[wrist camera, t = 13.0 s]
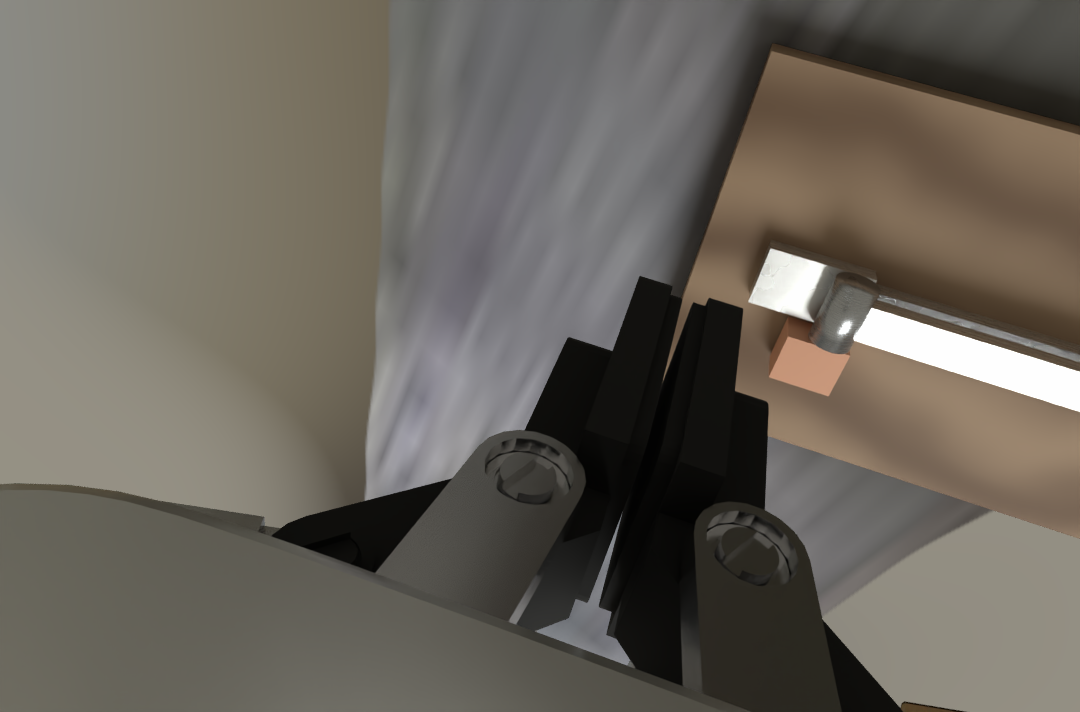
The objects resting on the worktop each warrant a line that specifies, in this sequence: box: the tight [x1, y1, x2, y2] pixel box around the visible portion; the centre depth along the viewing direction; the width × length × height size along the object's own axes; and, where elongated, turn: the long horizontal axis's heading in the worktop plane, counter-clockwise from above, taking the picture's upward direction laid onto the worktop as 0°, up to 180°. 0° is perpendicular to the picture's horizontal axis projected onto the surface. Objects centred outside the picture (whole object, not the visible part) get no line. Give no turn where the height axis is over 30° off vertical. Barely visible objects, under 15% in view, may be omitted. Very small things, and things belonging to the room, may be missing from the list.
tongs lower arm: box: [748, 240, 1080, 362], centre depth 35 cm, size 23×4×1 cm, turn 78°
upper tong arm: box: [808, 272, 1080, 411], centre depth 34 cm, size 20×4×2 cm, turn 78°
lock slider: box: [769, 316, 850, 396], centre depth 38 cm, size 3×2×2 cm
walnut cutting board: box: [662, 43, 1080, 539], centre depth 36 cm, size 19×30×2 cm, turn 78°
